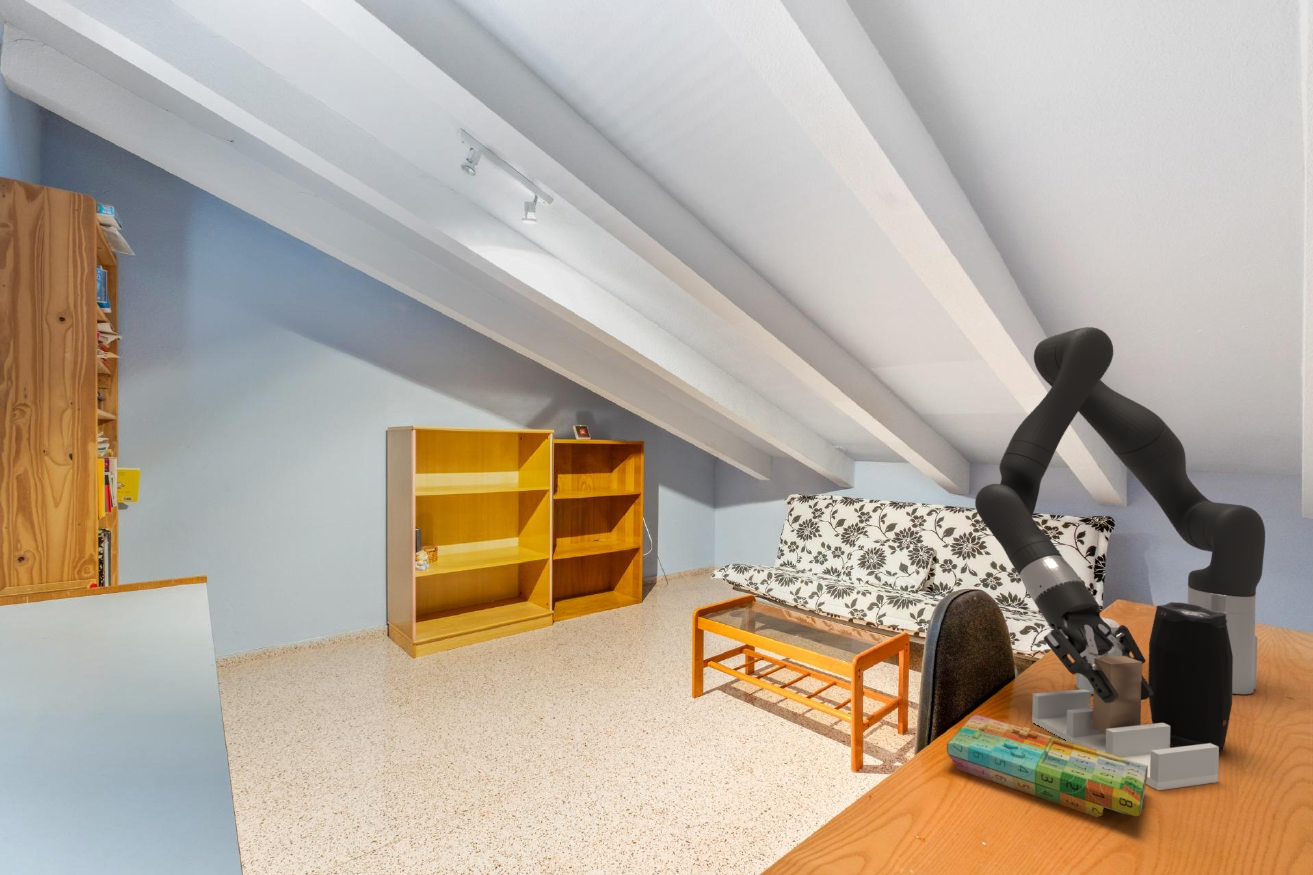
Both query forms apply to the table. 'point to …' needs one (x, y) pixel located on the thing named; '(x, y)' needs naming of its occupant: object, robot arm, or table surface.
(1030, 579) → the robot arm
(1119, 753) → the slotted rack
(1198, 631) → the portable speaker
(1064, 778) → the puzzle game
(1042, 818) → the table surface
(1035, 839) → the table surface
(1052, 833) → the table surface
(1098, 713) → the walnut block
